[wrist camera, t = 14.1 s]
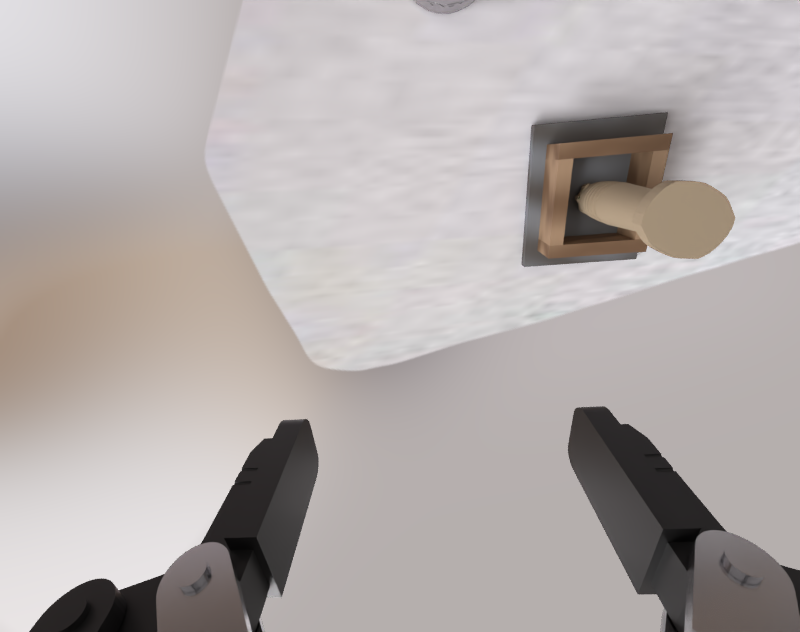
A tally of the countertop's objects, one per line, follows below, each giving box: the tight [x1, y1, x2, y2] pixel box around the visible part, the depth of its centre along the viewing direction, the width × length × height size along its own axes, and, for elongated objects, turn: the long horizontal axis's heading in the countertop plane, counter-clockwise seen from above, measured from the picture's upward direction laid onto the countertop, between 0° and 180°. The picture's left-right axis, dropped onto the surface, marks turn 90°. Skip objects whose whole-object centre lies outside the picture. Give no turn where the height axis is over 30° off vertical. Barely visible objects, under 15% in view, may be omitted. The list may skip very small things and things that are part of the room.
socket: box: [522, 112, 673, 267], centre depth 36 cm, size 15×13×4 cm
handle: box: [575, 180, 735, 259], centre depth 31 cm, size 5×6×15 cm
